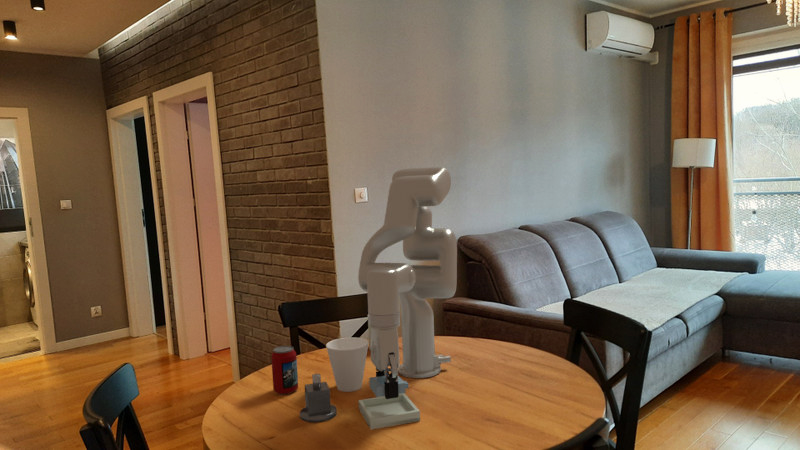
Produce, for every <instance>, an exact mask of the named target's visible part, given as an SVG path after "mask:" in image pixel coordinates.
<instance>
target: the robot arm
mask: <svg viewBox="0 0 800 450" xmlns="http://www.w3.org/2000/svg"><path fill="white" fill-rule="evenodd" d="M391 177H392V179H391V183H390V185H389V190H388V195H387V202H386V210H385V215H384V221H383V225H382V226H381V227H380V228H379V229H378V230H376V232H375V233H374V234H373V235H371V237H370V238H369V239H368V240H367V242H366V243H365V245H364V247H363V249H362V253H361V256H360V260H359V261H360V262H359V268H358V277H357V278H358V279H357V281H358V285H359V287H360V289H361V290H362V291H364V292H367V312H368V314H367V315H368V316H367V318H368V317H369V327H370V328H371V350H370V361H371V363H372V365H374V367H375V370H376V371H375V377H379V376H385V380H386V382H384V386H385V398H386V399H391V398H397V397H398V396H399V393H398V376H399V375H401V376H403V377H406V378H412V379H423V378H431V377H434V376H436V375H438V374H439V373H441V371H442V370H441V369H442V368H441V365H442V364H443V363H451V361H452V359H451V356H450V355H444V354H438V355H437V354H436V353H435V352H436V349H435V323H434V322H435V321H434V311H433V308H432V307H431V305H430V303H429V302H428V301H427V299H450V298H451V299H452V298H453V297H454V296H455V293H456V291H457V284H458V283H457V279H458V273H457V272H458V271H457V270H458V269H457V268H458V265H457V264H458V241H457V237H456V234H455V233H454V231H453V230H451V229H448V228H441V227H440V228H433V213H432V210H431V209H430V207H437V206H439V205H441V204H442V203H443V201H444V200H445V198H447V196H448V195H449V192H450V190H451V187H452V185H451V184H452V179H451V175H450V172H449V170H448V169H447V168H446V167H442V166H438V167H410V168H402V169H399V170H396V171H394V173H393V174H392V176H391ZM401 241H402V252H403V255H404V258H406V259H407V260H409V261H420V262H421V261H422V262H436V261H437V262H439V263H440V265H431V264H430V265H429V264H428V265H427V264H424V265H423V264H421V265H420V264H408V263H405V262H376V260H377V258H378V256H379V255H380V254H381V253H382V252H383V251H384V250H386V249H387V248H389V247H391V246H393V245H395V244H398V243H400V242H401ZM400 326H401V343H402V363H401V364H400V361H401V360H400V345H399V333H398V332H399V331H398V328H399V327H400ZM388 367H389V368H388ZM388 375H389V376H388Z"/></svg>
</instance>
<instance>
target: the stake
mask: <svg viewBox="0 0 800 450" xmlns="http://www.w3.org/2000/svg"><path fill="white" fill-rule="evenodd" d="M311 378H312V380H311V381H312V383H309V384H304V400H305V401H304V402H305V407H303V408H302V409H300V411H299V418H300V419H301V421H303V422H305V423H310V424H311V423H315V424H316V423H323V422H327V421H330V420H332V419H334V418H335V417H336V416H337V415H338V410H337V407H336V405H334V404H332V403H331V389H330V387H329V385H328V382H327V381H322V379H321V378H322V377H321V374H320V373H313V374H312V377H311Z"/></svg>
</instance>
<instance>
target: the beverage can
mask: <svg viewBox="0 0 800 450" xmlns="http://www.w3.org/2000/svg"><path fill="white" fill-rule="evenodd" d="M271 371H272V373H271V374H272V385H273V392H275V393H277V394H278V395H281V396H283V395H290V394H292V393H294V392H296V391H297V390H298V389H299V377H298V376H299V373H298V358H297V352H296V351H295V349H294V346H292V345H280V346H277V347H275V348H274V349H273V351H272V354H271Z"/></svg>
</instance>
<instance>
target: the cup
mask: <svg viewBox="0 0 800 450" xmlns="http://www.w3.org/2000/svg"><path fill="white" fill-rule="evenodd" d="M325 348H326V350H327V354H328V358H329V362H330V366H331V369H332V373H333V377H334V381H335V385H336V388H337V391H340V392H344V393H345V392H348V393H349V392H355V391H358V390H360V389H361V388H362V387H363V381H364V374H365V368H366V361H367V355H368V350H369V340H367V339H366V338H361V337H343V338H341V337H340V338H336V339H333V340H331V341H328V342H327V343H326V344H325Z"/></svg>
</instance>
